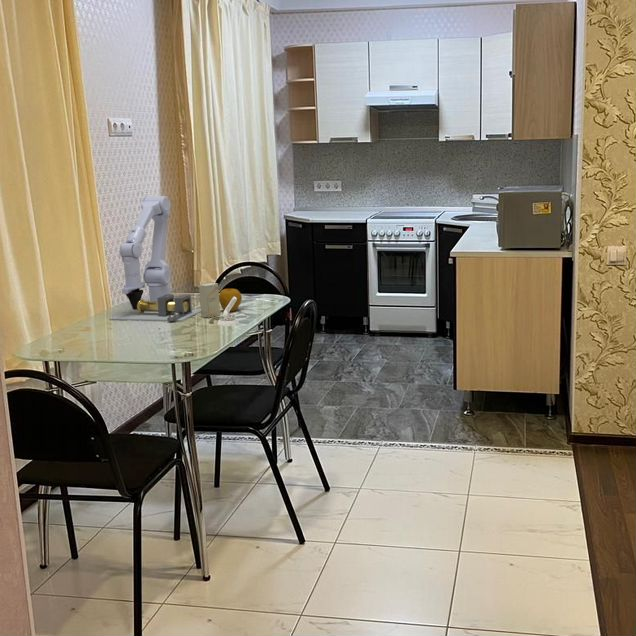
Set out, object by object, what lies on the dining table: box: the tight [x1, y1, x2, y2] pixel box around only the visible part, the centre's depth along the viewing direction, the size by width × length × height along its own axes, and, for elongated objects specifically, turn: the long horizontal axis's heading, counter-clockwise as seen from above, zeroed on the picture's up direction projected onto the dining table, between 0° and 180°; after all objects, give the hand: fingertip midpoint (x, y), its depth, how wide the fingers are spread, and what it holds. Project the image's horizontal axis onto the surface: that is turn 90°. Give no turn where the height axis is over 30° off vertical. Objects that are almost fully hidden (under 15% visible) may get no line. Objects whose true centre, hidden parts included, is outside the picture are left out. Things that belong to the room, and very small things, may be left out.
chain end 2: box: [167, 294, 193, 322], centre depth 307 cm, size 15×3×7 cm, turn 163°
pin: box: [137, 298, 189, 313], centre depth 313 cm, size 5×19×5 cm, turn 73°
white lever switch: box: [217, 296, 240, 327], centre depth 293 cm, size 8×12×7 cm
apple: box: [219, 288, 243, 313], centre depth 316 cm, size 8×8×9 cm
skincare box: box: [198, 282, 221, 319], centre depth 308 cm, size 6×4×12 cm
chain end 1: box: [157, 293, 175, 317], centre depth 316 cm, size 15×3×7 cm, turn 163°
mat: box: [108, 309, 201, 322], centre depth 314 cm, size 18×30×1 cm, turn 73°
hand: (135, 309), depth 316 cm, fingers closed, pressing on pin
